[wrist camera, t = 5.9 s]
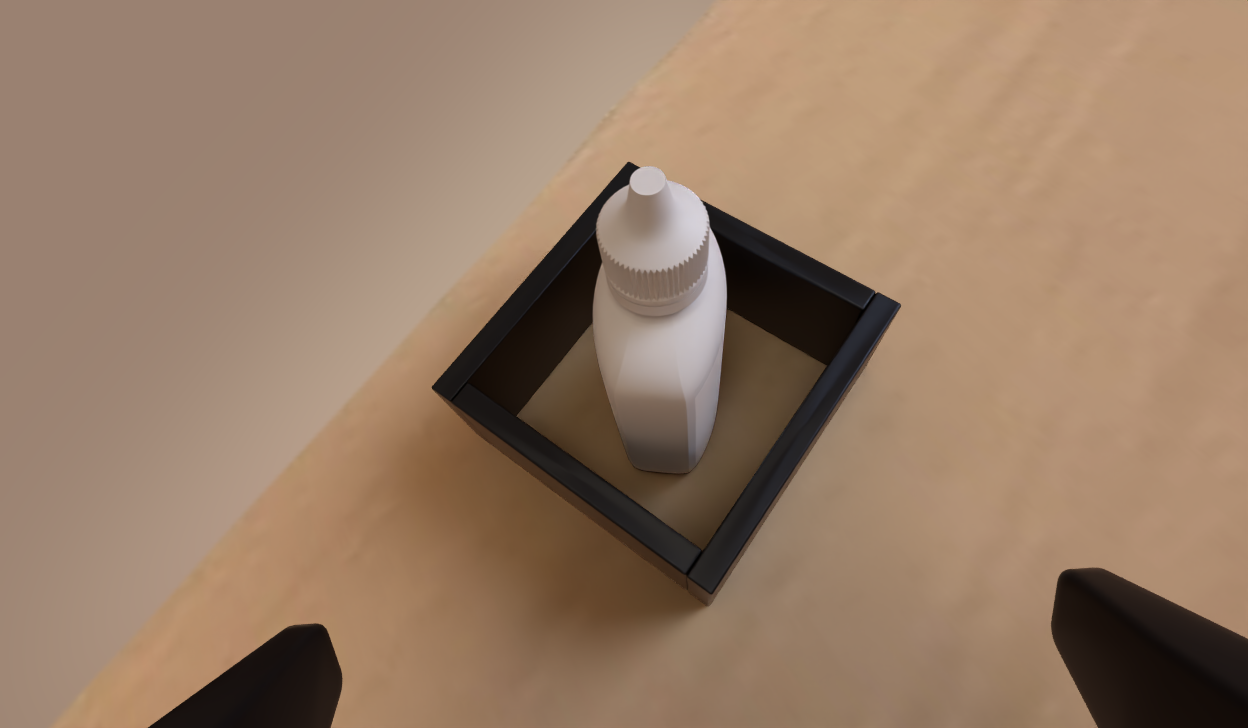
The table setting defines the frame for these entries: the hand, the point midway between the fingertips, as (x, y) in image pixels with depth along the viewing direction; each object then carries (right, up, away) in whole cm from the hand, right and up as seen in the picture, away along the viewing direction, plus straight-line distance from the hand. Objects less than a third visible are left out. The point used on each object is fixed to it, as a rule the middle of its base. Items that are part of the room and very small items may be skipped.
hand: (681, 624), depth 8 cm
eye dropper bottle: (+1, +2, +16) cm, 16 cm away
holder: (+1, +2, +16) cm, 16 cm away
